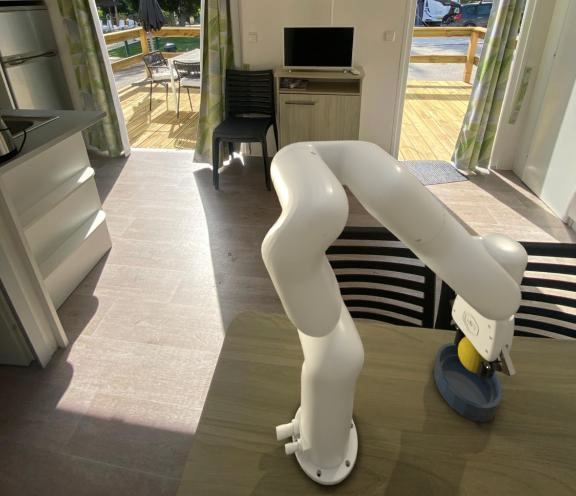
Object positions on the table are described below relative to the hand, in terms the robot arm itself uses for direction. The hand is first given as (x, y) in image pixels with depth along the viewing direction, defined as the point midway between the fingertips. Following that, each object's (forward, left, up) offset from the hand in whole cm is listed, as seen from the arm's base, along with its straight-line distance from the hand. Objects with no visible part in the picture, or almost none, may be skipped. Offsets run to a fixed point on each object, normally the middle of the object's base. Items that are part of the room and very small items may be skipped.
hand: (472, 357), depth 63 cm
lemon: (0, 0, -3) cm, 3 cm away
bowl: (0, 0, -10) cm, 10 cm away
